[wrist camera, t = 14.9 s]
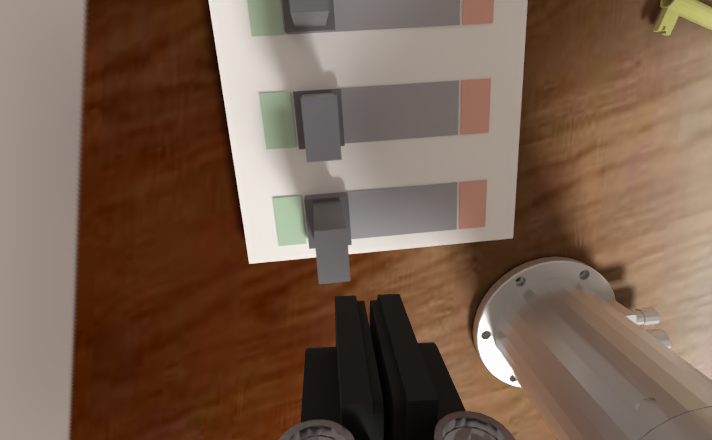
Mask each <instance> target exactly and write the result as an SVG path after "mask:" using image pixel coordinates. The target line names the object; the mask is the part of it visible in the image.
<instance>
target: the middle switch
mask: <svg viewBox="0 0 712 440" xmlns="http://www.w3.org/2000/svg"><path fill="white" fill-rule="evenodd" d="M293 98H294V108H295V117H296V127H297V136H298V146H299V149H306V158H307V162H319V161H332V160H342V157H341V146H345V142H344V128H343V114H342V99H341V89H340V88H338V89H323V90H308V91H293Z"/></svg>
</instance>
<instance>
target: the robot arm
mask: <svg viewBox="0 0 712 440" xmlns="http://www.w3.org/2000/svg"><path fill="white" fill-rule="evenodd" d="M659 321H660V316H659V314H658V312H657V311H656V310H655V309H654V308H643V309H636V310H632V311H629V310H628V309H627V308H625V307H624V306H622V305H621V304H620V303H618V302H617V301H616V300H615V295H614V292H613V290H612V288H611V286H610V284H609V283H608V282H607V280H606V279H605V278H604V277H603V276H602V275H601V274H600V273H599V272H597V271H596V270H594V269H593V268H592V267H590V266H588V265H586V264H585V263H583V262H581V261H578V260H575V259H571V258H567V257H545V258H539V259H536V260H532V261H529V262H526V263H524V264H522V265H520V266H518V267H515V268H514V269H512V270H511V271H509V272H508V273H506V274H505V275H503V276H502V277H501V278H500V279H499V280H498V281H497V282H496V283H495V284H494V285H493V286H492V287H491V288H490V289H489V291H488V292H487V293H486V295H485V296H484V297H483V299H482V301H481V303H480V305H479V307H478V309H477V312H476V316H475V319H474V326H473V338H474V345H475V348H476V350H477V353H478V355H479V357H480V359H481V360H482V362H483V364H484V365H485V367H486V368H487V369H488V370H489V371H490V372H491V374H493V375H494V376H495V377H497V378H498V379H500V380H501V381H503V382H505V383H507V384H510V385H514V386H518V387H521V388H522V389H523V390H524V392H525V393H526V395H527V396H528V398H529V399H530V401H531V402H532V404H533V405H534V406H535V408H536V409H537V411H538V412H539V414H540V415H541V417H542V418H543V420H544V421H545V423H546V424H547V425H548V427H549V428H550V430H551V431H552V433H553V434H554V436H555V437H556V439H557V440H712V380H711V379H709V378H708V377H707V376H705V375H704V374H703V373H701V372H700V371H698V370H697V369H696V368H694V367H693V366H692V365H690V364H689V363H688V362H686V361H685V360H684V359H682V358H681V357H680V356H678V355H677V354H676V353H674V352H673V351H672V350H670V347H671V342H670V338H669V336H668V335H667V333H666V332H665V331H664V330H661V329H653V330H644V329H642V328H641V327H640V326H646V325H655V324H658V323H659ZM639 325H640V326H639ZM335 327H336V347H324V348H306V353H305V367H304V382H303V397H302V412H301V423H299V424H297V425H296V426H294V427H292V428H291V429H289V430H288V431H287V432H286V433H285V434H284V435H283V436H282V437H281V438H280V440H515V438H514V437H513V436H512V434H511V433H510V432H509V431H508V430H507V429H506V428H505V427H504V426H503V425H502V424H501V423H499V422H498V421H496V420H495V419H493V418H491V417H489V416H486V415H484V414H481V413H477V412H471V411H465V408H464V406H463V404H462V402H461V399H460V397H459V395H458V393H457V390H456V388H455V386H454V384H453V381H452V379H451V377H450V375H449V372H448V370H447V368H446V366H445V363H444V361H443V359H442V357H441V354H440V352H439V350H438V348H437V346H436V344H435V343H417V340H416V337H415V335H414V332H413V329H412V327H411V324H410V321H409V319H408V316H407V313H406V311H405V308H404V305H403V303H402V300H401V297H400V295H399V294H386V295H378V297H377V300H373V301H370V328H369V323H368V318H367V313H366V308H365V303H364V301H357V300H356V296H335Z"/></svg>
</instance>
